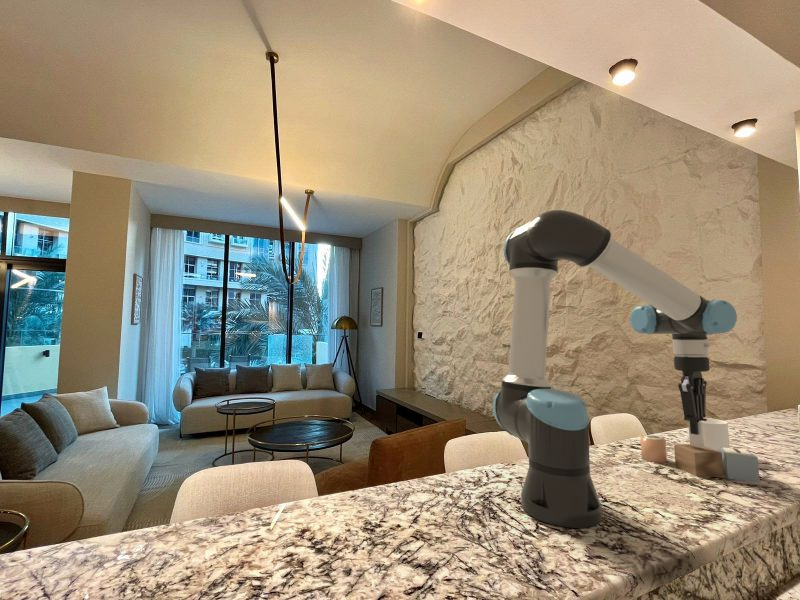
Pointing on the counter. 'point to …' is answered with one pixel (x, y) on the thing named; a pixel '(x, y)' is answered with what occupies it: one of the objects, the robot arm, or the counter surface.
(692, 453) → the walnut block
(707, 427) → the cup
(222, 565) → the counter surface
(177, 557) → the counter surface
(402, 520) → the counter surface
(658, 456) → the terracotta cylinder
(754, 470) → the slate block
